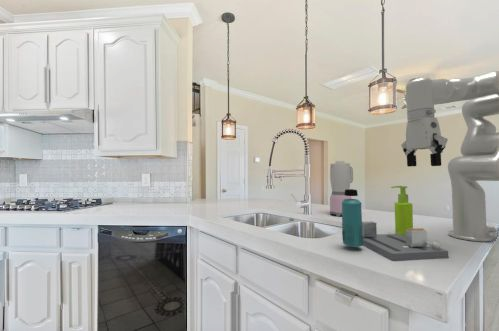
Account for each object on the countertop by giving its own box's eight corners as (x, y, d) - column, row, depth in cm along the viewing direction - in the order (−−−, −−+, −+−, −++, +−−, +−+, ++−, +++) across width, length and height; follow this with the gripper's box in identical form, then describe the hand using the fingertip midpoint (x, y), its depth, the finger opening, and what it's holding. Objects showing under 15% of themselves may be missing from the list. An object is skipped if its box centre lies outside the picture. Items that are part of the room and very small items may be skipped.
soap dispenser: (393, 233, 98) (392, 185, 98) (413, 236, 93) (412, 185, 94) (391, 236, 93) (390, 186, 94) (412, 239, 89) (410, 186, 89)
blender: (339, 217, 132) (338, 160, 133) (325, 214, 143) (324, 161, 144) (361, 215, 137) (360, 161, 138) (346, 212, 148) (345, 161, 149)
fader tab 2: (420, 243, 76) (419, 227, 76) (426, 246, 74) (426, 229, 74) (405, 244, 75) (405, 228, 76) (412, 246, 73) (411, 230, 73)
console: (398, 238, 90) (398, 228, 90) (448, 257, 70) (448, 244, 70) (354, 240, 88) (354, 230, 88) (392, 260, 68) (392, 246, 68)
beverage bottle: (367, 250, 77) (366, 189, 78) (351, 252, 75) (349, 190, 76) (353, 244, 83) (352, 188, 84) (337, 246, 82) (336, 188, 82)
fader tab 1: (372, 234, 87) (372, 221, 87) (376, 236, 84) (376, 222, 85) (359, 235, 86) (359, 221, 87) (363, 237, 84) (363, 223, 84)
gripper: (455, 109, 72) (458, 165, 72) (410, 121, 89) (412, 165, 89) (433, 110, 71) (436, 166, 71) (392, 121, 89) (394, 166, 88)
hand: (423, 166), depth 80 cm, fingers open, 9 cm apart
